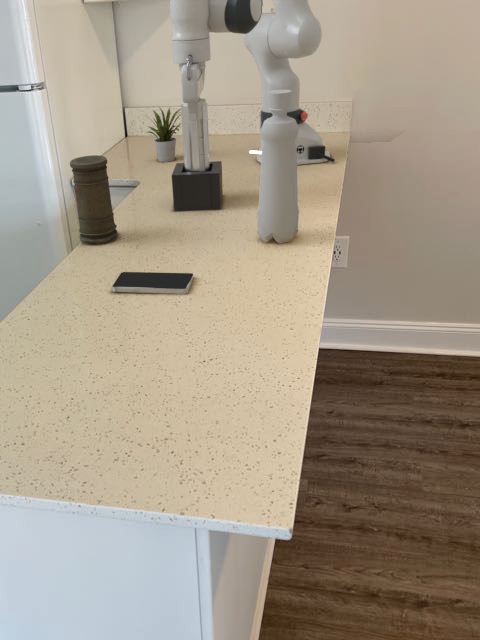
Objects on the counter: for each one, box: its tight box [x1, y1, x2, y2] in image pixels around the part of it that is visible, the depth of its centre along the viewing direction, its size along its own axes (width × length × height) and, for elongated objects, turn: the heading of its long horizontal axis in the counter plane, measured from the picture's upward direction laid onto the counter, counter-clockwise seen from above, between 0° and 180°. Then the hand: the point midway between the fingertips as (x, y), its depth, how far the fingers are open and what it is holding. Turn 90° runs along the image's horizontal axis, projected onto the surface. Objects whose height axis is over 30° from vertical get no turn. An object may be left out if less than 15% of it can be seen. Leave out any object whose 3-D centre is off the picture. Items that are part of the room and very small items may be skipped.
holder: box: [171, 160, 224, 212], centre depth 175 cm, size 12×12×9 cm
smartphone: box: [111, 271, 194, 295], centre depth 134 cm, size 8×1×15 cm
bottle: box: [256, 90, 300, 244], centre depth 143 cm, size 9×9×30 cm
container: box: [69, 154, 119, 246], centre depth 155 cm, size 9×9×18 cm
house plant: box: [144, 106, 182, 163], centre depth 214 cm, size 14×14×16 cm
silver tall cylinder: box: [180, 97, 211, 172], centre depth 170 cm, size 6×6×25 cm
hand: (194, 116), depth 165 cm, fingers closed on silver tall cylinder, 6 cm apart
